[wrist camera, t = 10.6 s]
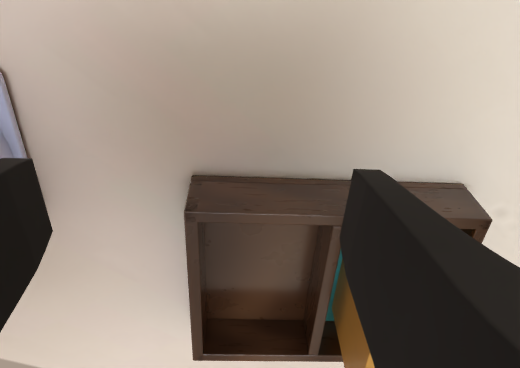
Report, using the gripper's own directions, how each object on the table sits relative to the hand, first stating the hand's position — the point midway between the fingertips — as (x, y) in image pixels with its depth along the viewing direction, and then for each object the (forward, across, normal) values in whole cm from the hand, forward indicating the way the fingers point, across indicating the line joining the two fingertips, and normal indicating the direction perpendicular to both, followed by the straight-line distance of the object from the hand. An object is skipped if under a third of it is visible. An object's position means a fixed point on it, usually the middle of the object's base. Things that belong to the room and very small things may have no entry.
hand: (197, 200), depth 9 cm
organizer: (+9, -6, +10) cm, 15 cm away
